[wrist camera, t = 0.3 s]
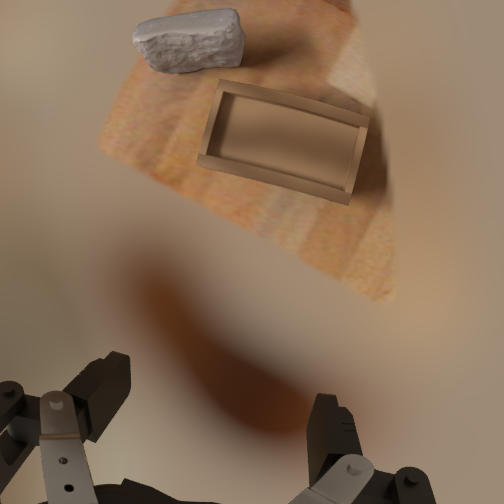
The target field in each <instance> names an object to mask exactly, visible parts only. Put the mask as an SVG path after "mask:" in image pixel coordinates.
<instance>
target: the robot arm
mask: <svg viewBox="0 0 504 504" xmlns="http://www.w3.org/2000/svg"><path fill="white" fill-rule="evenodd" d="M130 389H131V371H130V357H129V356H128V355H125V354H122V353H118V352H115V351H112V352H111V353H110V354H109V355H108V356H107V357H106V358H105V359H101V358H99V359H97V360H95V361H92V362H90V363H89V364H88V365H87V366H86V367H85V368H84V370H82V371H81V372H80V373H79V375H77V376H76V377H75V378H74V379H73V380H72V381H71V382H70V383H69V384H68V385H67V386H66V387H65V388H64V389H63V390H62V391H56V390H55V391H50V392H47V393H45V394H43V395H42V397H35V396H30V395H26V394H24V390H23V387H22V386H21V385H20V384H19V383H17V382H14V381H4V382H1V383H0V433H1V432H2V431H3V430H4V428H5V427H6V428H7V429H6V430H5V431H4V432H3V433H2V434H1V436H0V495H1V493H2V492H3V490H4V489H5V487H6V486H7V485H8V483H9V482H10V480H11V479H12V477H13V476H14V475H15V473H16V472H17V471H18V469H19V468H20V467H21V465H22V464H23V462H24V461H25V460H26V458H27V457H28V456H29V454H30V453H31V452H32V450H33V449H34V447H35V446H40V453H41V462H42V469H43V476H44V482H45V488H46V494H47V499H48V501H46V502H42V503H39V504H219V503H214V502H188V501H187V502H186V501H179V500H176V499H174V498H172V497H170V496H168V495H166V494H164V493H162V492H160V491H158V490H156V489H154V488H153V487H150V486H147V485H143V484H140V483H137V482H134V481H131V480H129V479H126V478H124V480H123V482H122V484H121V485H118V484H103V485H96V486H94V483H93V480H92V476H91V473H90V469H89V465H88V462H87V458H86V454H85V450H84V446H83V443H84V442H85V441H86V439H88V440H90V441H92V442H94V443H96V442H97V440H98V439H99V437H100V436H101V434H102V433H103V432H104V430H105V429H106V427H107V426H108V424H109V423H110V421H111V420H112V418H113V417H114V416H115V414H116V413H117V411H118V410H119V408H120V407H121V405H122V404H123V403H124V401H125V399H126V398H127V397H128V395H129V392H130ZM306 436H307V452H308V468H309V484H310V485H309V486H310V488H309V487H307V488H306V489H304V490H303V491H302V492H301V493H300V494H299V495H298V496H296V497H295V498H294V499H293V500H292V501H291V502H290V503H289V504H436V502H435V498H434V495H433V491H432V488H431V485H430V482H429V479H428V477H427V475H426V474H425V473H424V472H423V471H421V470H420V469H418V468H415V467H404V468H401V469H400V470H399V471H397V473H396V474H391V473H386V472H382V471H378V470H376V469H374V466H373V464H372V463H371V461H370V460H368V459H367V458H365V457H363V454H362V450H361V446H360V442H359V438H358V435H357V432H356V427H355V423H354V419H353V415H352V414H351V413H350V412H349V411H348V409H347V408H346V407H339V406H338V402H337V398H336V395H331V394H322V393H318V394H317V396H316V398H315V401H314V404H313V407H312V410H311V414H310V416H309V419H308V423H307V429H306ZM0 504H1V499H0Z"/></svg>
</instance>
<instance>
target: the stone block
mask: <svg viewBox="0 0 504 504" xmlns="http://www.w3.org/2000/svg"><path fill="white" fill-rule="evenodd" d="M133 42H134V44H135V46H136V47H137V48H138V50H139V52H140V53H141V54H142V56H143V57H144V59H145V60H146V62H147V63H148V65H149V66H150V67H151V68H152V69H154V70H155V71H157V72H162V73H167V74H174V73H179V72H192V71H197V70H199V69H202V68H214V67H239V65H240V63H241V60H242V56H243V49H244V43H245V34H244V32H243V30H242V28H241V25H240V17H239V15H238V13H237V11H236V10H235V9H232V8H226V9H214V10H204V11H196V12H191V13H183V14H177V15H173V16H168V17H160V18H155V19H151V20H148V21H145V22H142V23H141V24H139V25H138V26H137V27H136V28H135V30H134V31H133Z"/></svg>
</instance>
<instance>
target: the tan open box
mask: <svg viewBox="0 0 504 504" xmlns="http://www.w3.org/2000/svg"><path fill="white" fill-rule="evenodd" d="M369 121H370V117H367V116H364V115H361V114H358V113H355V112H352V111H349V110H346V109H343V108H339V107H336V106H333V105H330V104H326V103H323V102H319V101H316V100H312V99H309V98H305V97H301V96H297V95H293V94H289V93H285V92H281V91H277V90H273V89H268V88H264V87H259V86H254V85H250V84H244V83H239V82H234V81H228V80H223V79H219V83H218V86H217V89H216V93H215V96H214V100H213V103H212V106H211V110H210V114H209V117H208V121H207V124H206V128H205V132H204V135H203V139H202V143H201V147H200V150H199V154H198V158H197V162H196V166H200V167H203V168H207V169H211V170H216V171H220V172H224V173H228V174H233V175H237V176H241V177H245V178H249V179H253V180H257V181H261V182H265V183H268V184H272V185H276V186H280V187H283V188H287V189H291V190H294V191H298V192H302V193H305V194H309V195H312V196H316V197H319V198H323V199H326V200H329V201H333V202H336V203H340V204H344V205H348V206H349V202H350V199H351V195H352V191H353V187H354V184H355V180H356V176H357V172H358V168H359V164H360V160H361V156H362V152H363V147H364V143H365V139H366V134H367V130H368V126H369Z"/></svg>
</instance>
